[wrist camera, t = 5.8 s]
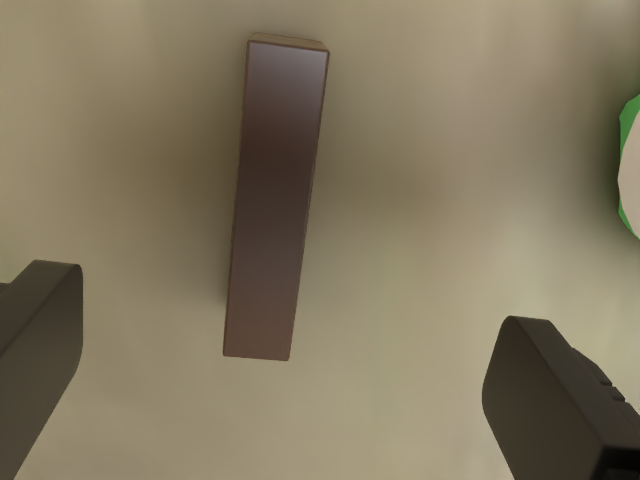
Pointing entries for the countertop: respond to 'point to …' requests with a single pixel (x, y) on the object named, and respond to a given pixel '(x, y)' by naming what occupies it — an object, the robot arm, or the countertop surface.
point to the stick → (273, 192)
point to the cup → (630, 166)
